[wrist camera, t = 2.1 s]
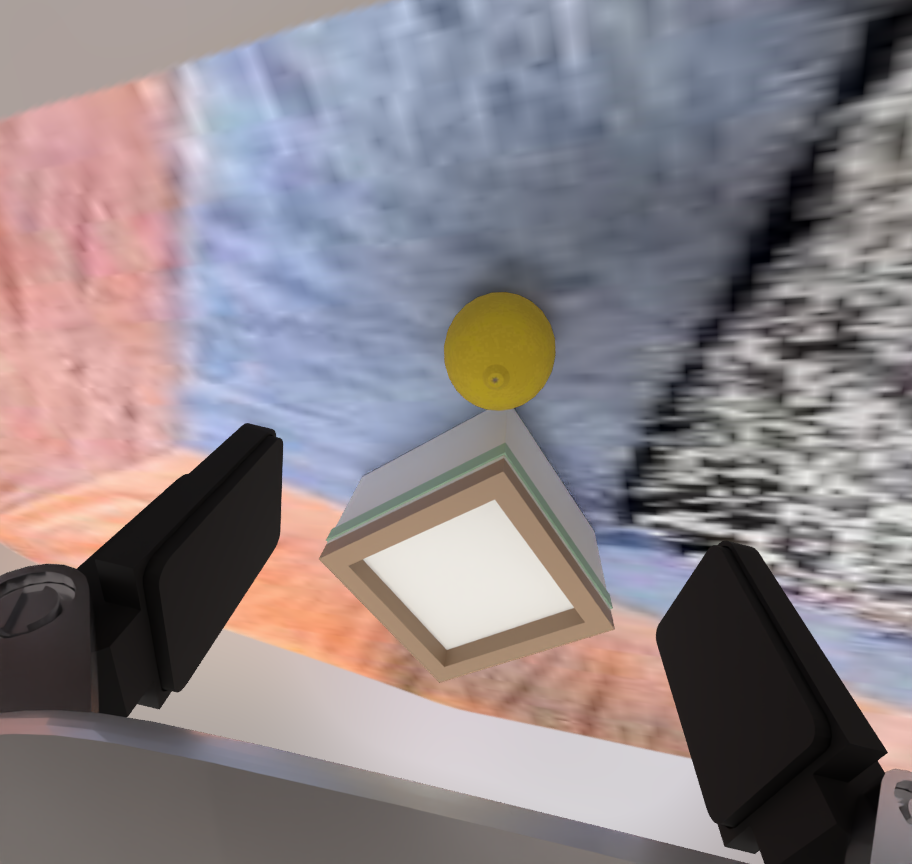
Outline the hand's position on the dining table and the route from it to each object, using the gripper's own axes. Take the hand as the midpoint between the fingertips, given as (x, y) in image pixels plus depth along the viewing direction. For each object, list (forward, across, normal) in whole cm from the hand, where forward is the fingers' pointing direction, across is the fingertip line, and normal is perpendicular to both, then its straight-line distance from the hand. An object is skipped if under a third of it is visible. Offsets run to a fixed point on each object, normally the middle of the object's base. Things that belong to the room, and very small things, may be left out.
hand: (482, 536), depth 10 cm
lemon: (+19, 0, +1) cm, 19 cm away
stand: (+19, -2, +14) cm, 23 cm away
